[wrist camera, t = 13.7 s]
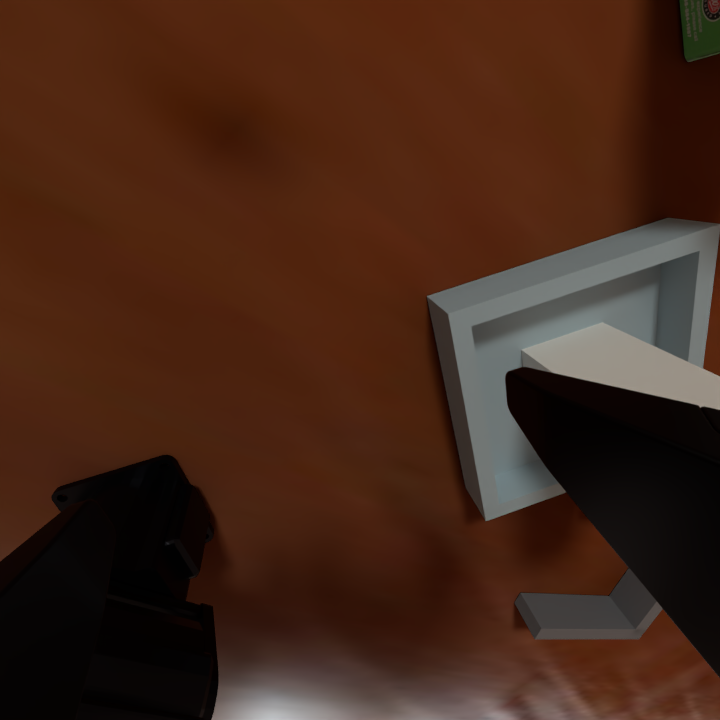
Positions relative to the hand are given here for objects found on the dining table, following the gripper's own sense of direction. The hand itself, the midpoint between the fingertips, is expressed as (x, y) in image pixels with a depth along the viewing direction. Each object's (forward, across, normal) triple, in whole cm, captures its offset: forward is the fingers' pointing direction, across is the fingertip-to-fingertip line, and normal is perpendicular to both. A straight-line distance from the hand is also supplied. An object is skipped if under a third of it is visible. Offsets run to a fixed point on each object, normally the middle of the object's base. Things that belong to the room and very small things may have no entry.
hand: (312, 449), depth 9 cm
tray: (+13, -14, +9) cm, 21 cm away
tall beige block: (+12, -14, +9) cm, 21 cm away
